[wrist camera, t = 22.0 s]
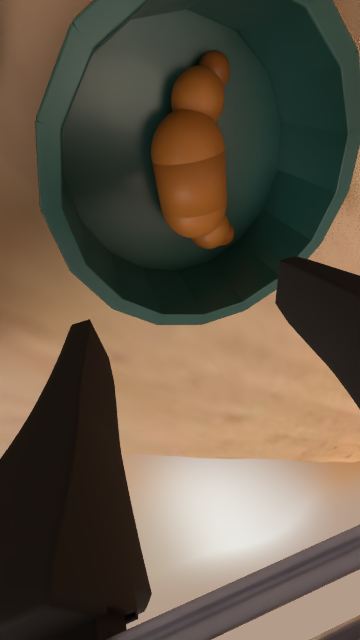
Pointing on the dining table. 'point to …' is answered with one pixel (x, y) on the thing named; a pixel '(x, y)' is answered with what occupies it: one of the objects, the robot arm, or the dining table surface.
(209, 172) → the croissant
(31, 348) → the dining table surface
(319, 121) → the pot
